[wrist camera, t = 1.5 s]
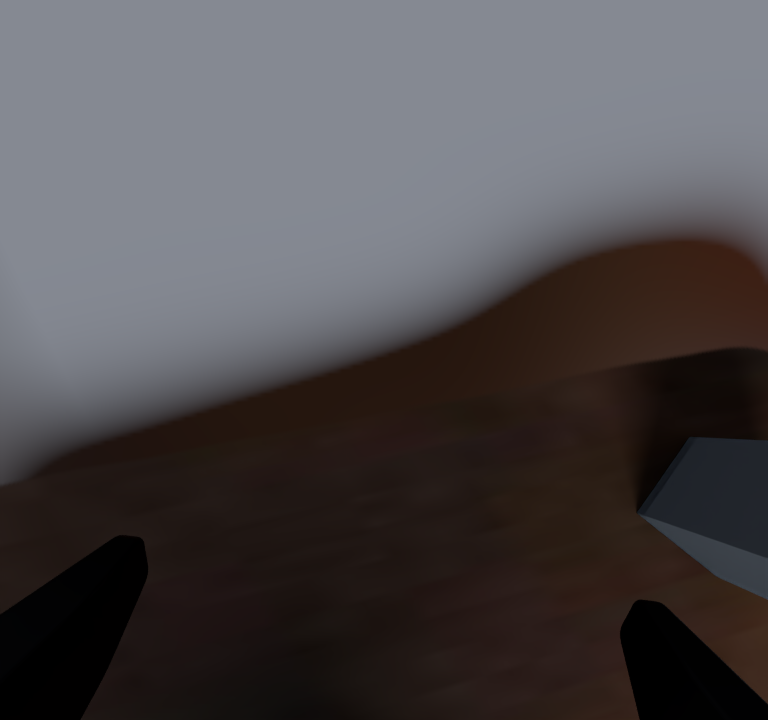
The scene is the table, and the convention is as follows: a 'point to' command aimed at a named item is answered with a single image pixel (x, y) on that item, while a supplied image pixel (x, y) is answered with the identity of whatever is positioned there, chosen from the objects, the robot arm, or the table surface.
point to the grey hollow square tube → (717, 508)
